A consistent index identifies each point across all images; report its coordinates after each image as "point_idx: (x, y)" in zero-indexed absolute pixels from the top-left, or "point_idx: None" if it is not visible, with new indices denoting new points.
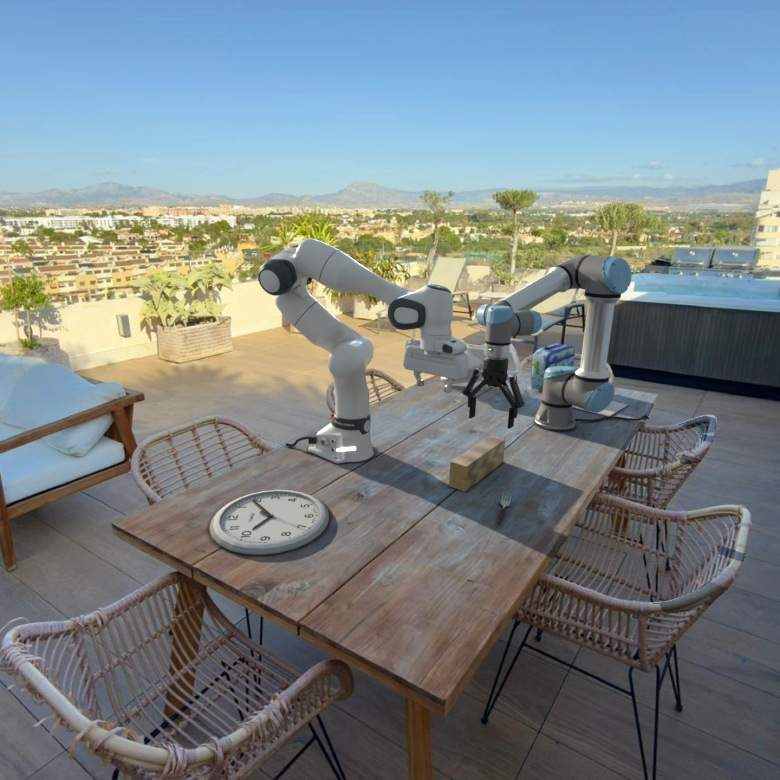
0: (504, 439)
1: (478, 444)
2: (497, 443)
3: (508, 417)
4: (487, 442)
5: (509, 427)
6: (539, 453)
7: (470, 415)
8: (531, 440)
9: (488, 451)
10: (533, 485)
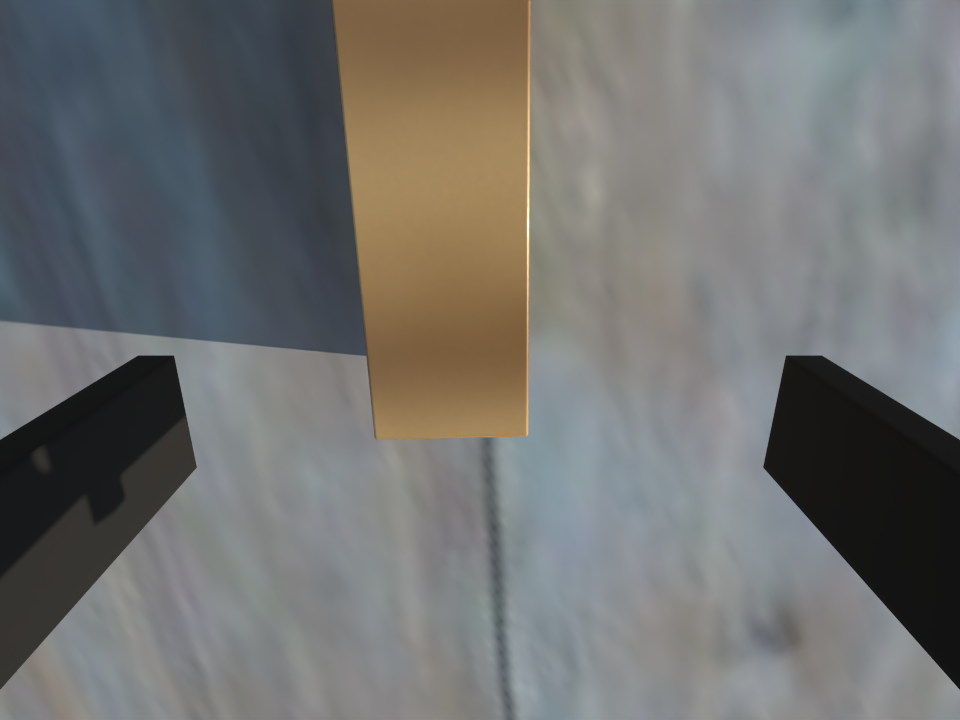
0: (378, 433)
1: (511, 149)
2: (375, 306)
3: (52, 434)
4: (464, 264)
5: (131, 362)
6: (303, 597)
7: (824, 374)
8: (429, 712)
9: (336, 52)
10: (53, 160)
